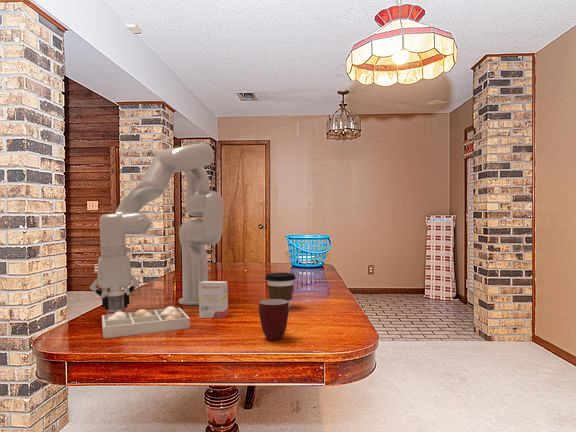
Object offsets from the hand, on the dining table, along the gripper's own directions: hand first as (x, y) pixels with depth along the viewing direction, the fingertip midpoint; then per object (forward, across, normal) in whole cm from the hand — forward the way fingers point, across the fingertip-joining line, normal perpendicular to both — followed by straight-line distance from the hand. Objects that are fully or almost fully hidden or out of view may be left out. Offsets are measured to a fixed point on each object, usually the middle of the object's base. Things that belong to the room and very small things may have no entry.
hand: (116, 307), depth 143 cm
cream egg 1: (+3, 0, +12) cm, 12 cm away
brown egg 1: (+3, -7, +12) cm, 14 cm away
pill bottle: (+3, 0, 0) cm, 3 cm away
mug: (+5, -38, +42) cm, 57 cm away
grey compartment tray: (+4, -7, +16) cm, 18 cm away
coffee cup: (+6, -54, +8) cm, 55 cm away
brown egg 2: (+4, -15, +19) cm, 25 cm away
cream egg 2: (+4, -15, +12) cm, 19 cm away
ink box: (+5, -29, +12) cm, 32 cm away
